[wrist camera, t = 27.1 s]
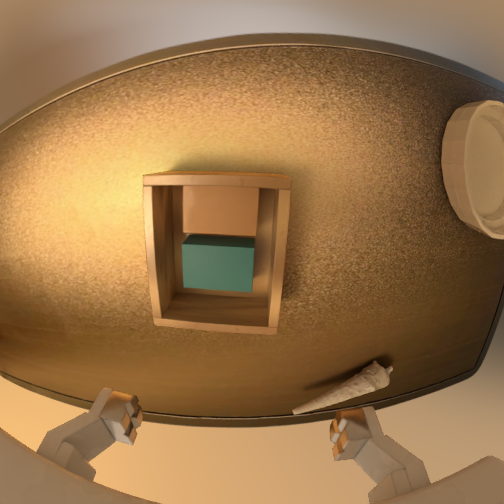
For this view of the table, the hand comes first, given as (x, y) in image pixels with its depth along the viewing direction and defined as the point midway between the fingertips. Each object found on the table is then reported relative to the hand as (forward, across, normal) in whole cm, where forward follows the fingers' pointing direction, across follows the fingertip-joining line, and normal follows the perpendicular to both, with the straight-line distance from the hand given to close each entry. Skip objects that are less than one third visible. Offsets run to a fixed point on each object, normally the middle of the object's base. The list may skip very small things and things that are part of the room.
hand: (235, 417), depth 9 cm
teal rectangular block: (+17, +3, 0) cm, 17 cm away
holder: (+18, +3, -2) cm, 18 cm away
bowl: (+18, -26, -13) cm, 34 cm away
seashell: (+18, -12, +15) cm, 26 cm away
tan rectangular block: (+17, +3, -5) cm, 18 cm away
